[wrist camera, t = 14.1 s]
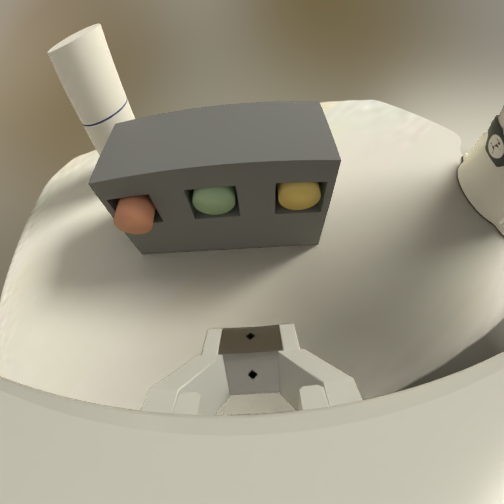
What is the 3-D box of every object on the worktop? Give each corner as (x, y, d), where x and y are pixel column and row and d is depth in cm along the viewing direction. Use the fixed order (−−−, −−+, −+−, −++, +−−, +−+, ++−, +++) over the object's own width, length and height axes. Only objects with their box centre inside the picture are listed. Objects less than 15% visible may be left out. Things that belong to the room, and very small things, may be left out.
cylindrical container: (127, 192, 39) (54, 52, 17) (107, 174, 42) (42, 53, 20) (161, 163, 42) (109, 21, 20) (138, 148, 44) (88, 25, 22)
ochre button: (312, 185, 29) (317, 158, 25) (317, 209, 27) (323, 182, 24) (275, 186, 29) (275, 159, 25) (277, 211, 27) (278, 184, 24)
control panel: (307, 187, 38) (319, 101, 25) (317, 244, 33) (340, 160, 21) (152, 198, 38) (115, 123, 26) (142, 254, 34) (88, 183, 22)
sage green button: (237, 188, 29) (233, 161, 26) (237, 213, 28) (232, 186, 24) (199, 191, 29) (191, 165, 26) (197, 216, 28) (187, 190, 24)
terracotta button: (162, 207, 29) (149, 182, 25) (158, 232, 27) (143, 209, 24) (129, 210, 29) (114, 188, 25) (123, 235, 27) (106, 214, 24)
